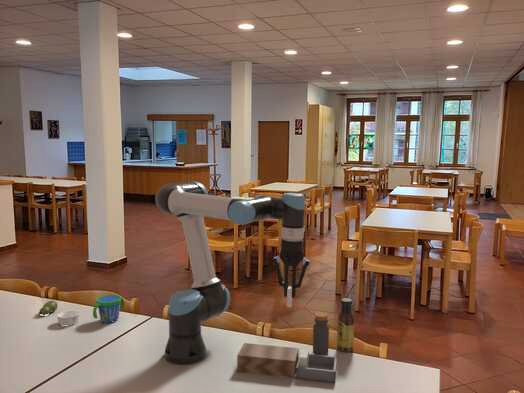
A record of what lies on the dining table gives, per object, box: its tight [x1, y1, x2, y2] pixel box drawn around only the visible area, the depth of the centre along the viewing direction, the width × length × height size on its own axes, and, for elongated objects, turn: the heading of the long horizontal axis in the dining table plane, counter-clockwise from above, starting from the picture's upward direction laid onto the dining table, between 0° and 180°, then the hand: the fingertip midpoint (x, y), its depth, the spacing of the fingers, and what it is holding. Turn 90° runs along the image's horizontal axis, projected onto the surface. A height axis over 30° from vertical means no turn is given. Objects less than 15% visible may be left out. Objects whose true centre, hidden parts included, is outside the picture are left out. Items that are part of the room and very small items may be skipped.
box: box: [295, 352, 338, 384], centre depth 158 cm, size 13×11×4 cm
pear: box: [38, 300, 59, 315], centre depth 212 cm, size 6×5×10 cm
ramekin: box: [56, 309, 80, 325], centre depth 200 cm, size 9×9×4 cm
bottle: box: [312, 311, 330, 356], centre depth 173 cm, size 6×6×15 cm
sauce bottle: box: [336, 297, 355, 353], centre depth 176 cm, size 6×6×20 cm
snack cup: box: [92, 294, 126, 323], centre depth 203 cm, size 16×10×10 cm
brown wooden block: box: [236, 342, 300, 379], centre depth 161 cm, size 20×10×6 cm, turn 78°
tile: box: [299, 349, 310, 368], centre depth 158 cm, size 6×6×2 cm
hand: (289, 305), depth 158 cm, fingers closed
